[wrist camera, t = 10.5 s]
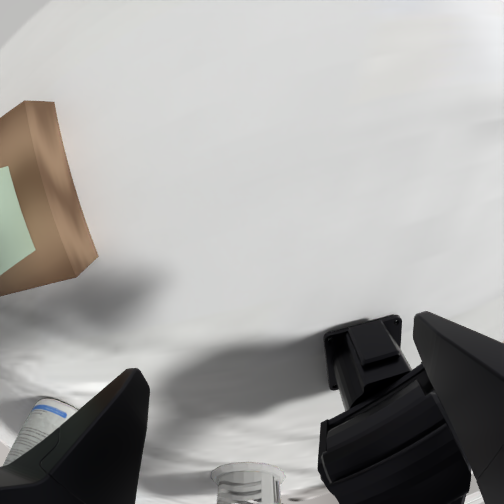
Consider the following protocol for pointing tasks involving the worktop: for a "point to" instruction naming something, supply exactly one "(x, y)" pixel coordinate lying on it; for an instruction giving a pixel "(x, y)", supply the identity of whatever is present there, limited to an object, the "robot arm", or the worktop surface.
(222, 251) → the worktop surface
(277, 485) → the french press
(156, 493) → the worktop surface
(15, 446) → the supplement tub
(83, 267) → the walnut block
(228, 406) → the worktop surface
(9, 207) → the sage cube
